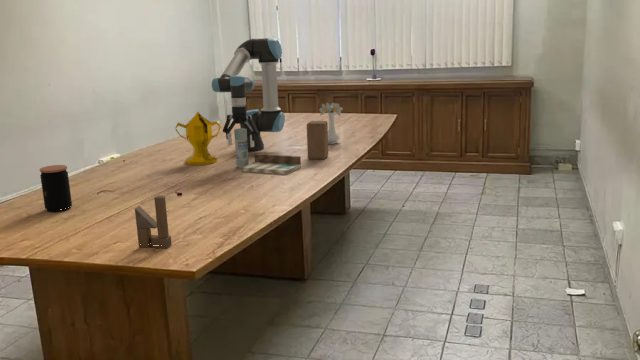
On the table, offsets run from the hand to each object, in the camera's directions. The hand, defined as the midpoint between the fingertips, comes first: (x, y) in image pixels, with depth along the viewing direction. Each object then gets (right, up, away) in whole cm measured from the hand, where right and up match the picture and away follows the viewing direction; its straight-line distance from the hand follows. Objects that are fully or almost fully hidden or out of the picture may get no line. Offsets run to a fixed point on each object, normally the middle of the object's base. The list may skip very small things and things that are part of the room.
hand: (241, 146), depth 336 cm
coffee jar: (-69, -30, -65) cm, 100 cm away
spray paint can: (0, -11, +3) cm, 11 cm away
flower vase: (+49, +5, +60) cm, 78 cm away
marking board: (+16, -12, -5) cm, 21 cm away
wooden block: (+40, -5, +19) cm, 45 cm away
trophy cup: (-24, -8, +18) cm, 32 cm away
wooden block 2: (-16, -41, -114) cm, 122 cm away
